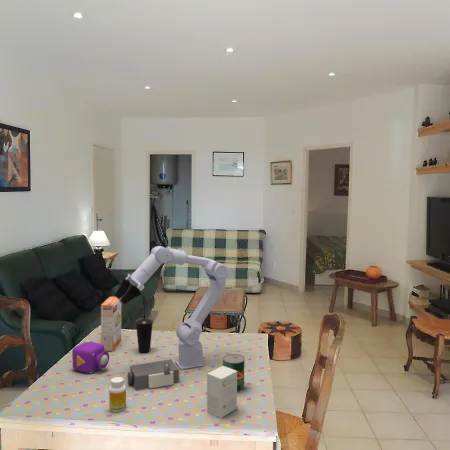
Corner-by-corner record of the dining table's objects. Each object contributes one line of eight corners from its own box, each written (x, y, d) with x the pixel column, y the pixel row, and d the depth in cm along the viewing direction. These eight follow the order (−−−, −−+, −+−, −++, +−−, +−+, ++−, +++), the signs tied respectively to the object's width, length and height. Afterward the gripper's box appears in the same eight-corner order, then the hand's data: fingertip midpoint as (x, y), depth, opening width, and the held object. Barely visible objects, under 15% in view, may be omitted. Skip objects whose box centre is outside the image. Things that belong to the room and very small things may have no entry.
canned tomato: (240, 394, 153) (240, 364, 152) (219, 390, 155) (219, 360, 154) (246, 384, 160) (247, 355, 159) (226, 381, 163) (227, 352, 162)
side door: (172, 383, 160) (172, 361, 159) (174, 386, 158) (174, 364, 157) (148, 387, 156) (148, 365, 155) (150, 390, 154) (149, 368, 153)
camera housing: (171, 371, 170) (171, 359, 170) (179, 382, 161) (179, 369, 160) (125, 379, 163) (125, 366, 163) (131, 391, 154) (131, 377, 153)
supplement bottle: (128, 409, 142) (128, 380, 141) (112, 414, 139) (111, 384, 138) (122, 402, 146) (122, 374, 145) (106, 406, 143) (106, 378, 142)
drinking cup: (156, 350, 191) (156, 305, 189) (144, 356, 185) (144, 310, 183) (144, 346, 195) (143, 303, 193) (131, 352, 189) (131, 307, 187)
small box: (222, 402, 147) (223, 365, 146) (237, 408, 143) (237, 370, 142) (206, 411, 141) (206, 373, 140) (221, 418, 137) (221, 379, 135)
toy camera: (101, 376, 165) (101, 351, 164) (69, 373, 168) (68, 347, 167) (114, 365, 176) (114, 341, 175) (83, 361, 178) (83, 338, 177)
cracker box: (114, 351, 189) (113, 304, 187) (100, 351, 189) (99, 304, 187) (122, 340, 203) (122, 296, 201) (109, 339, 203) (108, 296, 201)
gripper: (131, 261, 169) (106, 288, 165) (143, 269, 157) (117, 298, 153) (143, 273, 172) (119, 299, 168) (156, 281, 160) (131, 310, 156)
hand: (119, 299), depth 161 cm, fingers open, 7 cm apart
